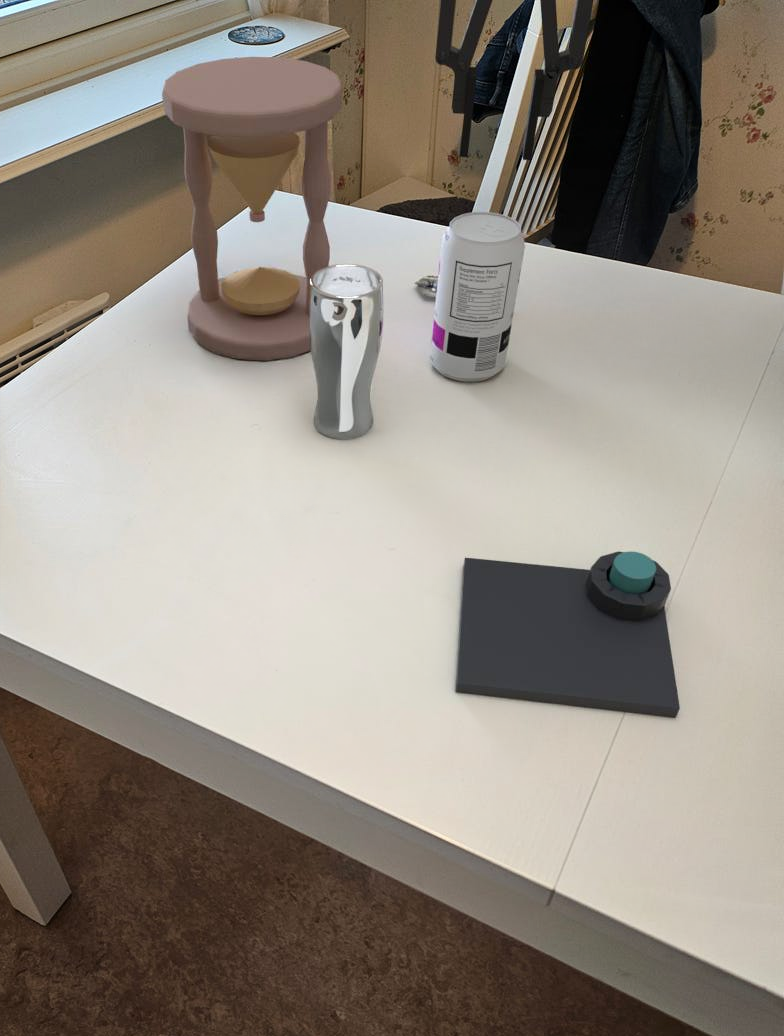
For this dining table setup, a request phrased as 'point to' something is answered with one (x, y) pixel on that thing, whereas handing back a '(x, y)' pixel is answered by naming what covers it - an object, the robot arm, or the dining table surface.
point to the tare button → (632, 572)
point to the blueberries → (428, 285)
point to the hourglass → (254, 191)
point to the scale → (565, 637)
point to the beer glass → (345, 346)
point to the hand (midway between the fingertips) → (495, 152)
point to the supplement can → (476, 295)
